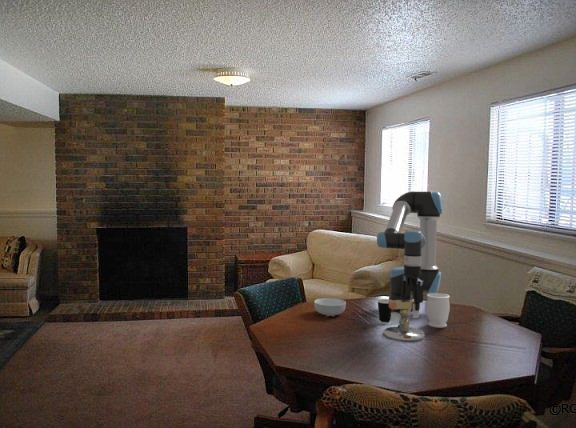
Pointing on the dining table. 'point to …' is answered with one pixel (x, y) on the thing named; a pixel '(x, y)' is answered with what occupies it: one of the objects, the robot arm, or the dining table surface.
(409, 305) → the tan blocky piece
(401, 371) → the dining table surface
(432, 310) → the jar
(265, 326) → the dining table surface
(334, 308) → the cereal bowl
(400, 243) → the robot arm
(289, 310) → the dining table surface
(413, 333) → the post base
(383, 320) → the dixie cup
